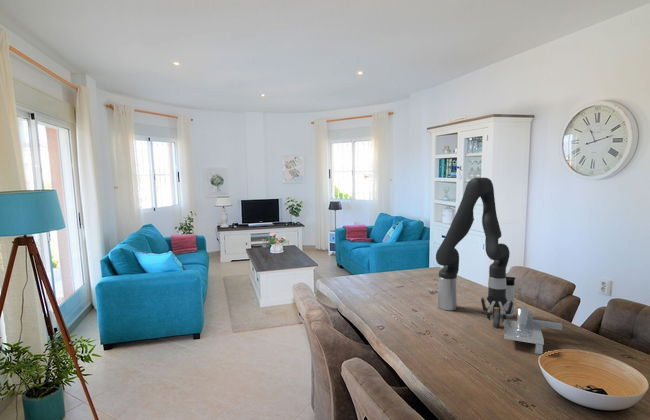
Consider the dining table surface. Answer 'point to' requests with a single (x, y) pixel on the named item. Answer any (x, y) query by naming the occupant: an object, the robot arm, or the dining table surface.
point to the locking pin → (496, 317)
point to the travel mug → (509, 295)
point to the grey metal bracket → (528, 329)
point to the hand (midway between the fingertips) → (496, 320)
